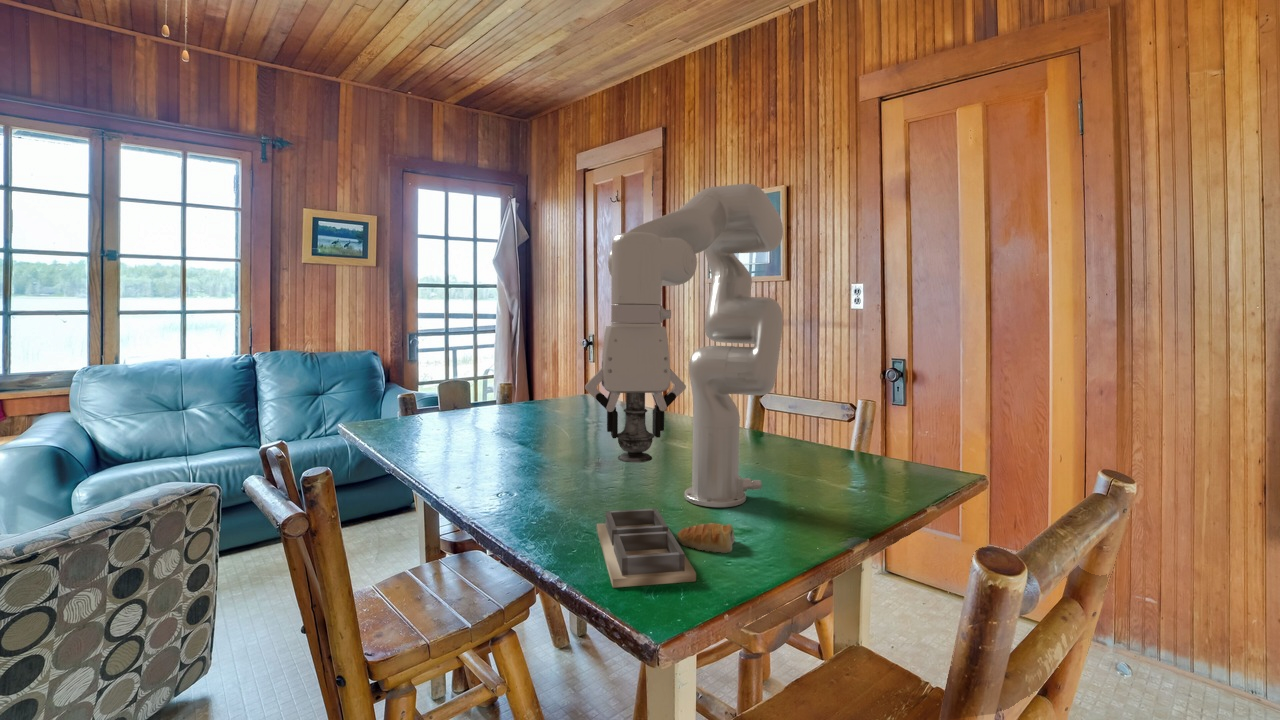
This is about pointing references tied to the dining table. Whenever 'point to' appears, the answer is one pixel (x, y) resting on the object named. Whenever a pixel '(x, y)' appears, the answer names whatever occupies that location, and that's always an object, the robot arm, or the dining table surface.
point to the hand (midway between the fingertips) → (635, 435)
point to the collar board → (642, 550)
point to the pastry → (708, 537)
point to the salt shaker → (635, 431)
